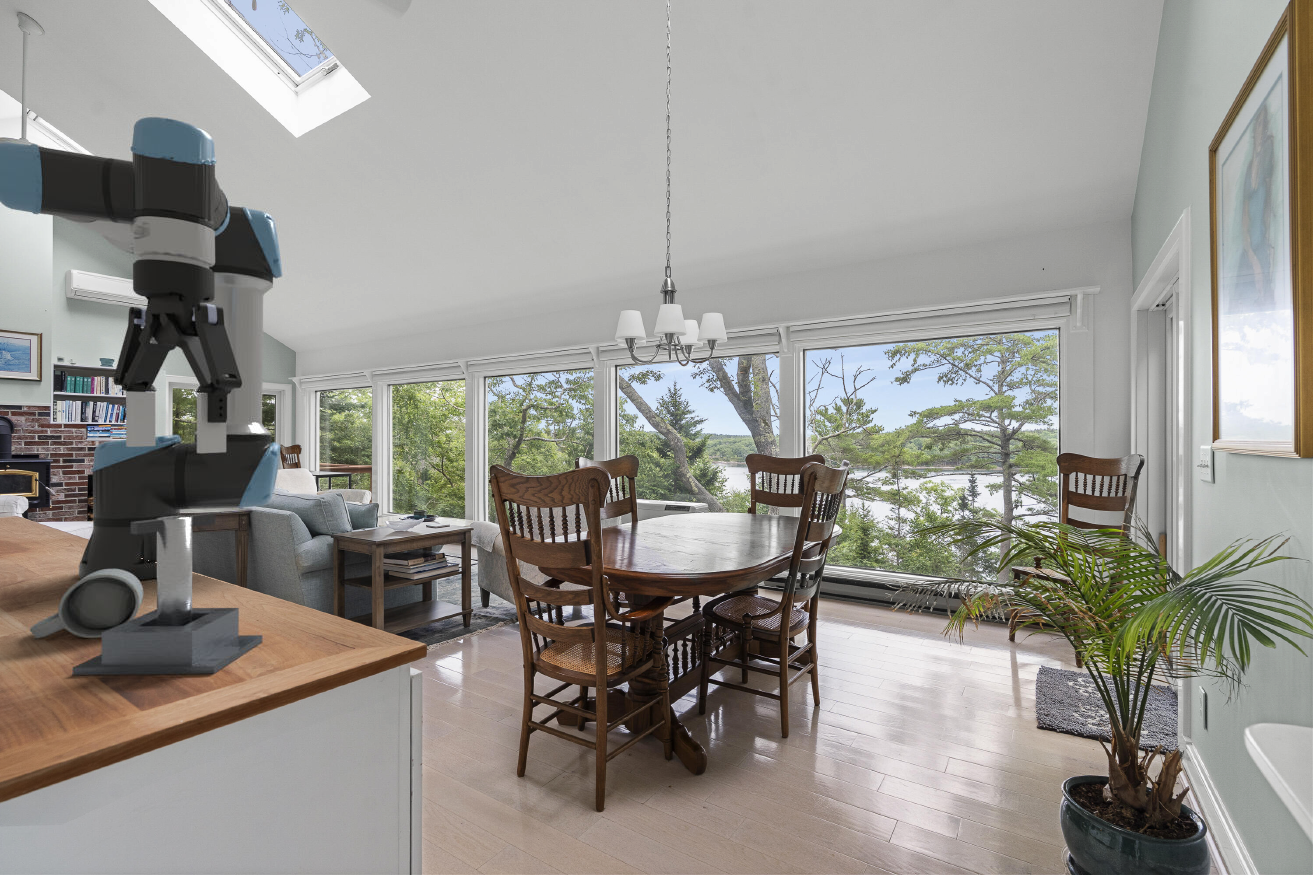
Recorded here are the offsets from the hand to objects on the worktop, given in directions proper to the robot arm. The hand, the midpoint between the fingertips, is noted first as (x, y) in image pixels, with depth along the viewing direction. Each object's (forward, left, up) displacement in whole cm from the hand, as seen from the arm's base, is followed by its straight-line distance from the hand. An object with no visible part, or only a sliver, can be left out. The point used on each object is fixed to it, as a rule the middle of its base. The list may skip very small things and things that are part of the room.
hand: (175, 449), depth 75 cm
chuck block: (+2, +2, -23) cm, 24 cm away
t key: (+2, +2, -23) cm, 23 cm away
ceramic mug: (-7, -14, -24) cm, 29 cm away
